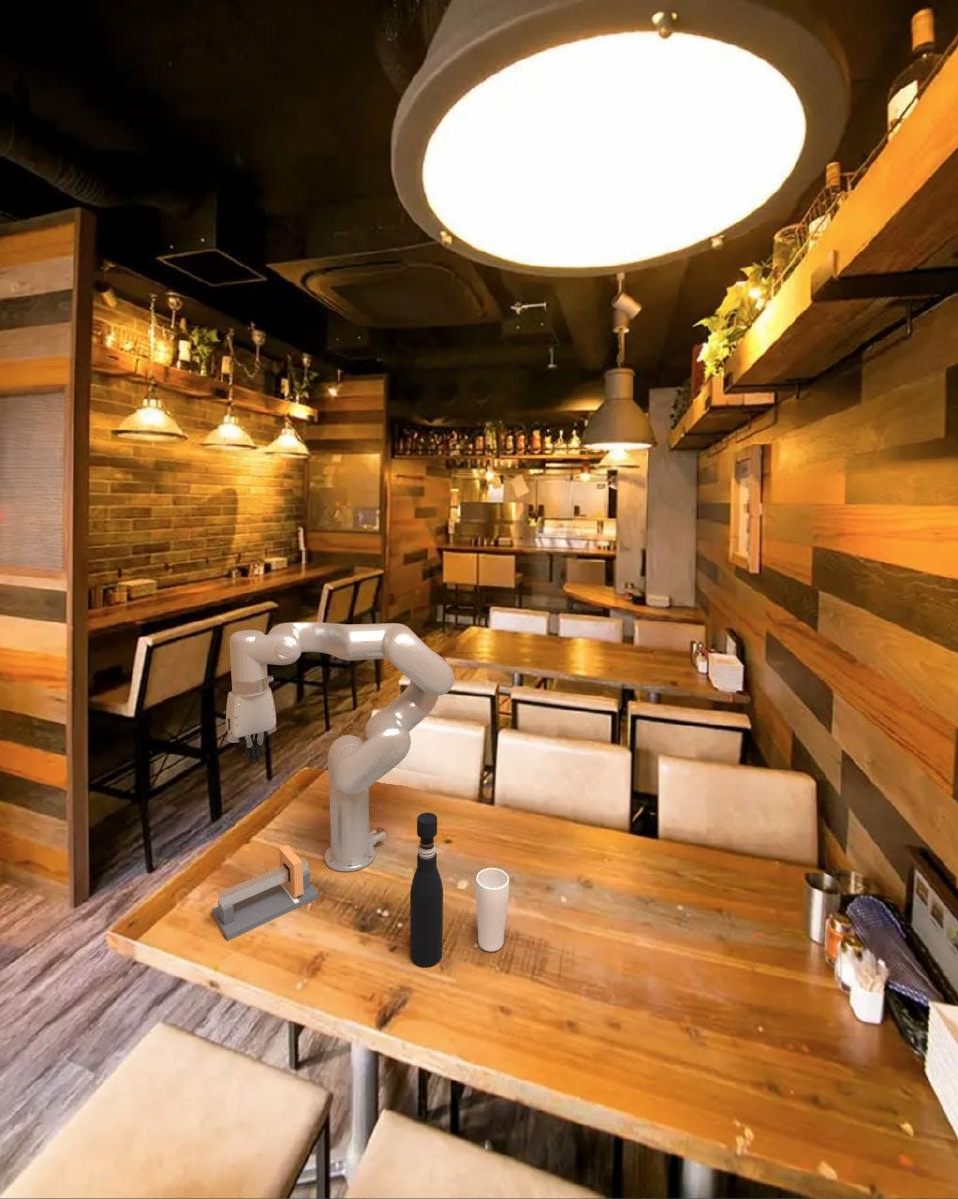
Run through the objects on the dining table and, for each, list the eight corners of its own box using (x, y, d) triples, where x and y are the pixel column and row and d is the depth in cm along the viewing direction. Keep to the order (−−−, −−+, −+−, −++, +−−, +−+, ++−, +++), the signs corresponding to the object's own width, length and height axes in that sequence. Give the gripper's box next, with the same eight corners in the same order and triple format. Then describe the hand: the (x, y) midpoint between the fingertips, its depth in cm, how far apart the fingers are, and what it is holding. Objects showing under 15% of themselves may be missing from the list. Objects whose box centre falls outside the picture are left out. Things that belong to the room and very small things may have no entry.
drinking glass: (511, 936, 120) (513, 871, 118) (501, 960, 114) (503, 892, 111) (480, 927, 123) (482, 864, 120) (469, 950, 116) (471, 884, 114)
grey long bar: (303, 866, 134) (303, 856, 134) (308, 872, 132) (308, 861, 132) (218, 902, 122) (217, 891, 121) (222, 909, 120) (222, 898, 119)
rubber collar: (288, 875, 135) (287, 844, 133) (303, 893, 129) (302, 861, 127) (280, 879, 133) (279, 848, 132) (295, 897, 128) (293, 865, 126)
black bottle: (437, 970, 111) (438, 829, 106) (405, 964, 113) (405, 824, 107) (445, 945, 117) (447, 811, 112) (415, 940, 119) (416, 807, 113)
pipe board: (299, 875, 138) (299, 857, 137) (318, 897, 131) (318, 879, 130) (212, 913, 125) (210, 894, 124) (227, 940, 117) (226, 920, 117)
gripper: (275, 674, 138) (278, 746, 141) (210, 687, 128) (214, 764, 131) (288, 682, 132) (291, 757, 135) (221, 696, 122) (225, 776, 126)
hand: (253, 760), depth 133 cm, fingers closed
